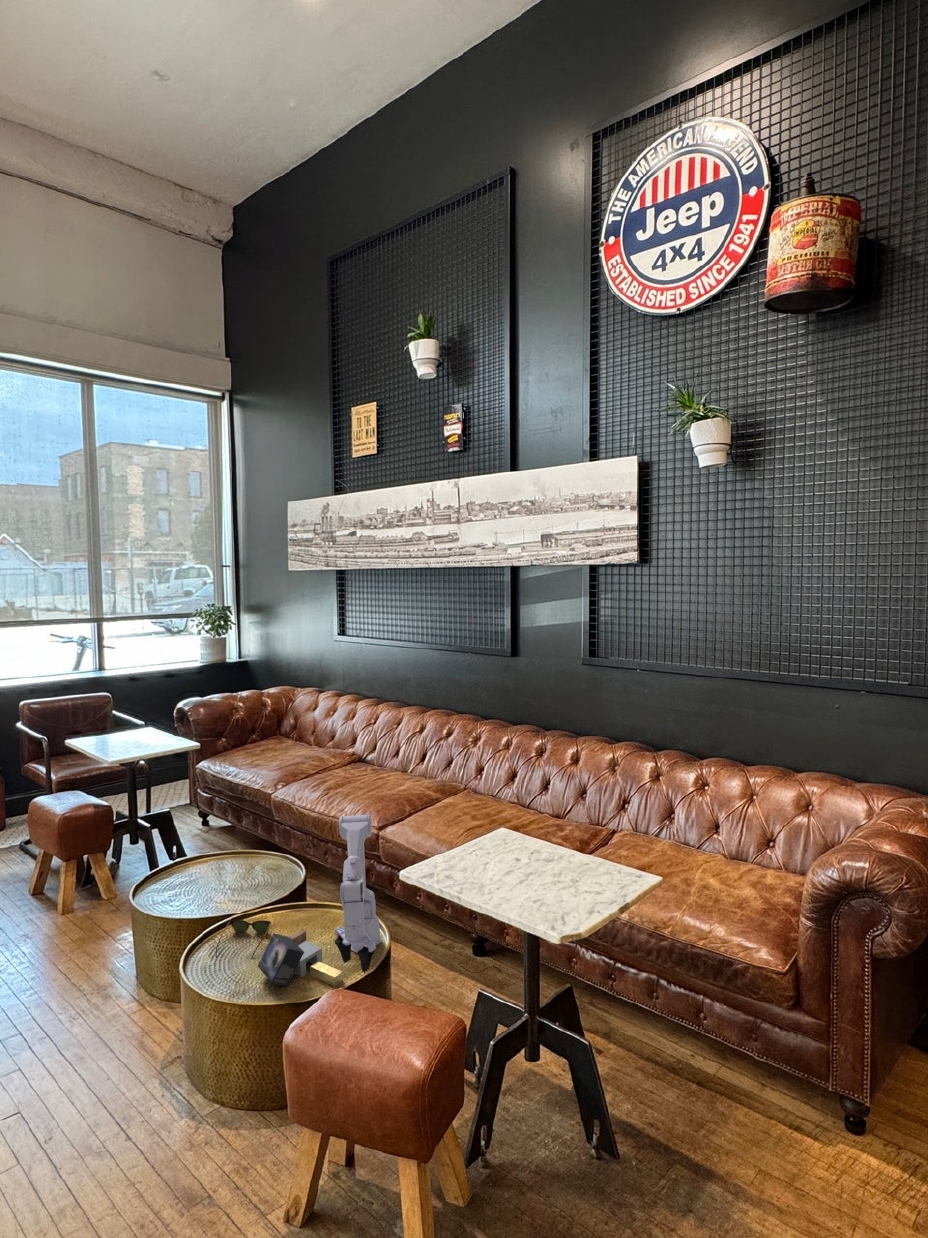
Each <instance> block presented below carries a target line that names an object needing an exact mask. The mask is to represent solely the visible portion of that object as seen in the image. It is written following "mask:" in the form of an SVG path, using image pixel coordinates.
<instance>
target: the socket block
mask: <svg viewBox="0 0 928 1238" xmlns="http://www.w3.org/2000/svg"><path fill="white" fill-rule="evenodd" d="M298 946H299V947H300V948H301V949H302V950H303V951H304V954H303V955H302V957H301V959H300V962H299V964H298V966H297V968H296V970H295V972H294V974H295V975H296V976H298V977H300V978H302V977H304V976H305V975H307V964H308V963H309V964H311V965H313V964H314V963H316V962H317V961H319V962H321V963H323V948H322V947H320V946H318V945H316V944H315V943H312V942H310V941H308V940H306V941H305V942H303V943H302V944H300V945H298ZM323 964H324V963H323ZM294 974H293V975H294Z"/></svg>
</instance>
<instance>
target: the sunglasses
mask: <svg viewBox="0 0 928 1238" xmlns="http://www.w3.org/2000/svg"><path fill="white" fill-rule="evenodd" d="M271 923H272V922H271V921H270V920H255V921H253V922H248V921H246V920H243V919H231V920H229V921H228V923H227V925H226V926H225V928H224V930H223V931H222V933H221V935H220V937H219V939H218V942H217V945H216V948H215V958H217V955H218V954H217V952H218V946H219V945H220V941H221V939H222V937H223V934H224V933H225V931H226V929H227V927H228V926H229V925H230V924H231V928H233V930H234V932H236V933H246V932H247V931H248V930H249V928H250V926H251V928H252V929H253V930H254V931H255V932H256V933H258V934H259V933H262V934H263V933H264V935H263V937H261V940H260V941H259V943H258V944H257V946H256V947H255V949H254V951H253V954H252V955H251V958H250V959H253V957H254V956H255V953H256V951H257V949H259V946H260V945H261V943H262V941H263V940H264V938H265V936H266V935H267V933H269V930H270V926H271Z"/></svg>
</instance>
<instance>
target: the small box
mask: <svg viewBox="0 0 928 1238" xmlns="http://www.w3.org/2000/svg"><path fill="white" fill-rule="evenodd" d="M303 954H304V951H303V950H302V949H301V948H300V947H299V946H298V945H297V944H296V943H295V942H294V941H293V940H292V939H291V938H290V937H289V936H286V935H283V934H278V933H274V932H273V934H272V936H271V938H270V940H269V942H268V944H267V946H266V948H265V950H264V952H263V954H262V956H261V958H260V960H259V962H258V965H257V967H258V969H259V970H260V971H261V972H262V974H264V976H265V977H266V978H267V979H268V980H269V982H270V983H272V984H275V985H280V986H285V987H289V985H290V982H291V980H292V978H293V976H294V972H295V970H296V968H297V966H298V964H299V962H300V959H301V957H302V955H303Z"/></svg>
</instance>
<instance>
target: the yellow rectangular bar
mask: <svg viewBox="0 0 928 1238" xmlns="http://www.w3.org/2000/svg"><path fill="white" fill-rule="evenodd" d="M309 969H310V971H309V972H310V976H311V977H313V978H314V979H318V980H320V981H322V982H324V983H325V984H329V985H331V986H333V987H337V986H338V985H339V984H341V983H342V982H343V971H342V970H340V969H338V968H335V967H333V966H330V965H328V964H325V963H321V962H319V961H317V962H316V963H314V964H311V965H310V966H309Z"/></svg>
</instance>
